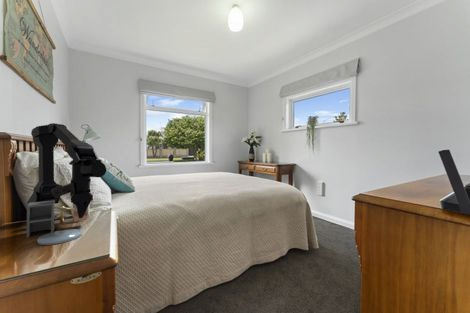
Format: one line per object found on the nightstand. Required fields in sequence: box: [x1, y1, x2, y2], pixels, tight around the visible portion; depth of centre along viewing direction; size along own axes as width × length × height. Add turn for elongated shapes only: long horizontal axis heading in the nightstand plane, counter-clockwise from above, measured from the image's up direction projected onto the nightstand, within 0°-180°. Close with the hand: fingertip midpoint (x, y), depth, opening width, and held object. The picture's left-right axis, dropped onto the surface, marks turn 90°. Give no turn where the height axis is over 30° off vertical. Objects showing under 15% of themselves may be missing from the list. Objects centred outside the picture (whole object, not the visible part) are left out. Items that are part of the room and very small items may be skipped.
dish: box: [37, 228, 83, 246], centre depth 67 cm, size 11×11×1 cm
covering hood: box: [26, 200, 55, 223], centre depth 72 cm, size 7×7×5 cm
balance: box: [54, 205, 76, 227], centre depth 83 cm, size 16×5×8 cm, turn 130°
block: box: [74, 209, 88, 223], centre depth 79 cm, size 4×4×4 cm
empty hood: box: [26, 215, 55, 238], centre depth 72 cm, size 7×7×5 cm
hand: (80, 216), depth 79 cm, fingers closed on block, 4 cm apart
